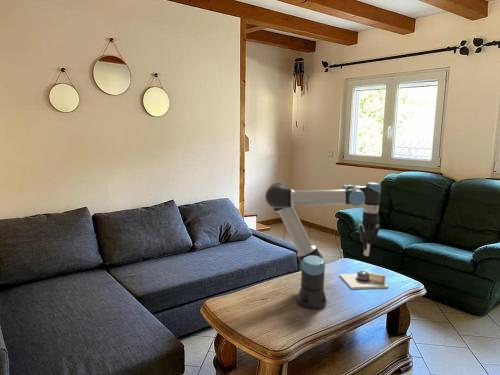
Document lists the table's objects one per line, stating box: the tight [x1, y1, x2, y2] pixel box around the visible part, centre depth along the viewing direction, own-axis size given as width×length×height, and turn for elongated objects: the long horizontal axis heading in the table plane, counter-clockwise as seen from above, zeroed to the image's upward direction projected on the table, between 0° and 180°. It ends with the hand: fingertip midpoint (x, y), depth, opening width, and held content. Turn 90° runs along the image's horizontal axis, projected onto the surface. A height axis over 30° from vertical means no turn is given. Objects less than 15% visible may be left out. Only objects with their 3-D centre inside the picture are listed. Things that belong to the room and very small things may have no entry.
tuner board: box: [338, 273, 390, 290], centre depth 215 cm, size 23×19×1 cm
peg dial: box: [356, 270, 386, 283], centre depth 213 cm, size 16×7×4 cm, turn 65°
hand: (366, 255), depth 193 cm, fingers closed
